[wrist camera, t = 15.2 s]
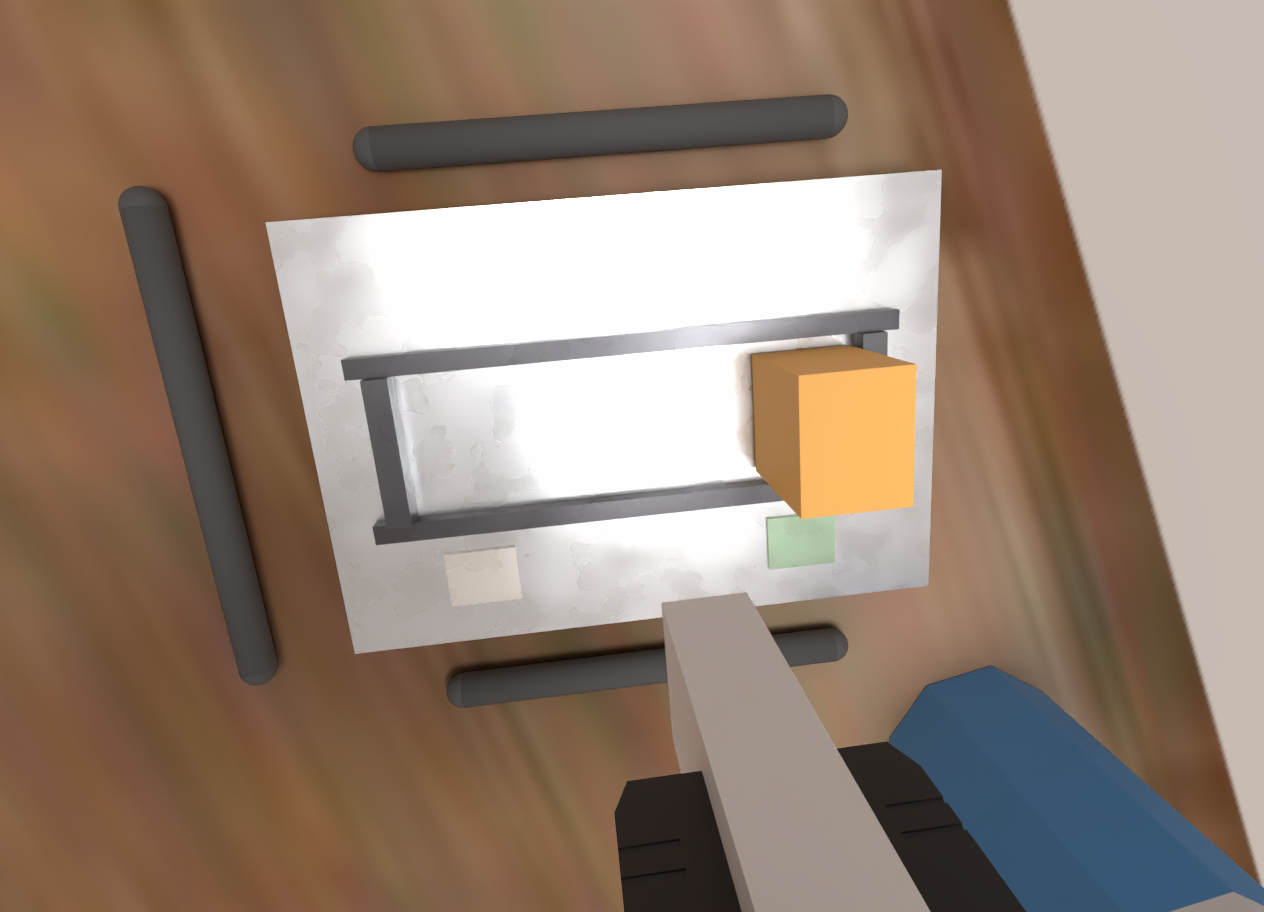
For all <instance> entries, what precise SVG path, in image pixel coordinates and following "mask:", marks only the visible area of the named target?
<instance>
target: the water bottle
mask: <svg viewBox="0 0 1264 912" xmlns="http://www.w3.org/2000/svg"><path fill="white" fill-rule="evenodd" d="M889 741H890V744H891V745H892V746H894V747H895V748H897V749H898V750H899V751H901V752H902V753H904V754H905V755H907V756H908V757H909V758H911V759H912V760H914V761H915V762H916V763H918V764H919V765H921V767H922V768H923V770H924V771H925V772H926V774H927V775H928V776H929V778H930V779H931V781H932V782H933V783H934V785H935V786H936V787H937V789H938V790H939V792H940V793H941V794H942V796H943V800H944V802H945V803H948V804H949V805H950V807H951V808H952V810H953V811H954V812H955V814H956V815H957V816H958V818H959V819H960V821H961V822H962V826H963V828H964V830H968V832H969V833H970V834H971V836H972V837H973V839H974V840H975V841H976V843H977V844H978V845H979V847H980V848H981V850H982V851H983V852H984V854H985V855H986V857H987V858H988V859H989V861H990V862H991V863H992V865H993V866H994V868H995V869H996V870H997V872H998V873H999V874H1000V876H1001V877H1002V879H1003V880H1004V881H1005V883H1006V884H1007V886H1008V887H1009V888H1010V890H1011V891H1012V892H1013V894H1014V895H1015V897H1016V898H1017V899H1018V901H1019V902H1020V904H1021V905H1022V906H1023V908H1024V909H1025V910H1026V912H1264V888H1263V887H1262V886H1261V885H1259V884H1258V883H1257V882H1256V881H1255V880H1254V879H1253V878H1252V877H1250V876H1249V875H1248V874H1247V873H1246V872H1245V871H1244V870H1243V869H1241V868H1240V867H1239V866H1238V865H1237V864H1236V863H1235V862H1234V861H1232V860H1231V859H1230V858H1229V857H1228V856H1227V855H1226V854H1225V853H1223V852H1222V851H1221V850H1220V849H1219V848H1218V847H1217V846H1216V845H1214V844H1213V843H1212V842H1211V841H1210V840H1209V839H1208V838H1207V837H1205V836H1204V835H1203V834H1202V833H1201V832H1200V831H1199V830H1198V829H1196V828H1195V827H1194V826H1193V825H1192V824H1191V823H1190V822H1189V821H1187V820H1186V819H1185V818H1184V817H1183V816H1182V815H1181V814H1180V813H1178V812H1177V811H1176V810H1175V809H1174V808H1173V807H1172V806H1171V805H1169V804H1168V803H1167V802H1166V801H1165V800H1164V799H1163V798H1162V797H1160V796H1159V795H1158V794H1157V793H1156V792H1155V791H1154V790H1153V789H1151V788H1150V787H1149V786H1148V785H1147V784H1146V783H1145V782H1144V781H1142V780H1141V779H1140V778H1139V777H1138V776H1137V775H1136V774H1135V773H1133V772H1132V771H1131V770H1130V769H1129V768H1128V767H1127V766H1126V765H1124V764H1123V763H1122V762H1121V761H1120V760H1119V759H1118V758H1117V757H1115V756H1114V755H1113V754H1112V753H1111V752H1110V751H1109V750H1108V749H1106V748H1105V747H1104V746H1103V745H1102V744H1101V743H1100V742H1099V741H1097V740H1096V739H1095V738H1094V737H1093V736H1092V735H1091V734H1090V733H1088V732H1087V731H1086V730H1085V729H1084V728H1083V727H1082V726H1081V725H1079V724H1078V723H1077V722H1076V721H1075V720H1074V719H1073V718H1072V717H1070V716H1069V715H1068V714H1067V713H1066V712H1065V711H1064V710H1063V709H1061V708H1060V707H1059V706H1058V705H1057V704H1056V703H1055V702H1054V701H1052V700H1051V699H1050V698H1049V697H1048V696H1047V695H1046V694H1045V693H1043V692H1042V691H1040V690H1038V689H1036V688H1034V687H1032V686H1030V685H1028V684H1026V683H1024V682H1022V681H1020V680H1019V679H1017V678H1015V677H1013V676H1011V675H1009V674H1007V673H1005V672H1003V671H1001V670H999V669H997V668H995V667H993V666H989V667H986V668H982V669H979V670H976V671H973V672H969V673H966V674H963V675H960V676H956V677H953V678H950V679H946V680H943V681H940V682H937V683H933V684H930V685H927V686H926V687H925V689H924V690H923V691H922V693H921V694H920V696H919V697H918V699H917V700H916V701H915V703H914V704H913V706H912V707H911V709H910V710H909V711H908V713H907V714H906V716H905V717H904V718H903V720H902V721H901V723H900V724H899V726H898V727H897V728H896V730H895V731H894V733H893V734H892V735H891V737H890V738H889Z"/></svg>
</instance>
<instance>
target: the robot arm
mask: <svg viewBox="0 0 1264 912" xmlns="http://www.w3.org/2000/svg"><path fill="white" fill-rule="evenodd" d="M661 604H662V616H663V628H664V640H665V652H666V664H667V677H668V689H669V701H670V713H671V725H672V737H673V742H674V746H675V750H676V754H677V759H678V763H679V767H680V771H681V774H675V775H668V776H661V777H654V778H647V779H640V780H633V781H627V783H626V786H625V788H624V791H623V793H622V796H621V798H620V801H619V803H618V805H617V808H616V810H615V823H616V833H617V843H618V852H619V863H620V872H621V882H622V892H623V902H624V912H1026V910H1025V909H1024V908H1023V906H1022V905H1021V904H1020V902H1019V901H1018V899H1017V898H1016V897H1015V895H1014V894H1013V892H1012V891H1011V890H1010V888H1009V887H1008V886H1007V884H1006V883H1005V881H1004V880H1003V879H1002V877H1001V876H1000V874H999V873H998V872H997V870H996V869H995V868H994V866H993V865H992V863H991V862H990V861H989V859H988V858H987V857H986V855H985V854H984V852H983V851H982V850H981V848H980V847H979V845H978V844H977V843H976V841H975V840H974V839H973V837H972V836H971V834H970V833H969V832H968V830H964V828H963V826H962V822H961V821H960V819H959V818H958V816H957V815H956V814H955V812H954V811H953V810H952V808H951V807H950V805H949V804H948V803H945V802H944V800H943V796H942V794H941V793H940V792H939V790H938V789H937V787H936V786H935V785H934V783H933V782H932V781H931V779H930V778H929V776H928V775H927V774H926V772H925V771H924V770H923V768H922V767H921V765H919V764H918V763H916V762H915V761H914V760H912V759H911V758H909V757H908V756H907V755H905V754H904V753H902V752H901V751H899V750H898V749H897V748H895V747H894V746H892V745H891V744H890V743H888V742H881V743H874V744H867V745H860V746H853V747H846V748H839V749H837V748H836V747H835V745H834V743H833V741H832V740H831V738H830V736H829V734H828V733H827V731H826V729H825V727H824V726H823V724H822V722H821V720H820V719H819V717H818V715H817V714H816V712H815V710H814V708H813V707H812V705H811V703H810V701H809V700H808V698H807V696H806V694H805V693H804V691H803V689H802V687H801V686H800V684H799V682H798V680H797V679H796V677H795V675H794V674H793V672H792V670H791V668H790V667H789V665H788V663H787V661H786V660H785V658H784V656H783V654H782V653H781V651H780V649H779V647H778V646H777V644H776V642H775V641H774V639H773V637H772V635H771V634H770V632H769V630H768V628H767V627H766V625H765V623H764V621H763V620H762V618H761V616H760V614H759V613H758V611H757V609H756V607H755V606H754V604H753V602H752V601H751V599H750V597H749V595H748V594H747V592H743V593H735V594H727V595H719V596H711V597H703V598H695V599H687V600H679V601H671V602H663V603H661Z"/></svg>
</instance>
